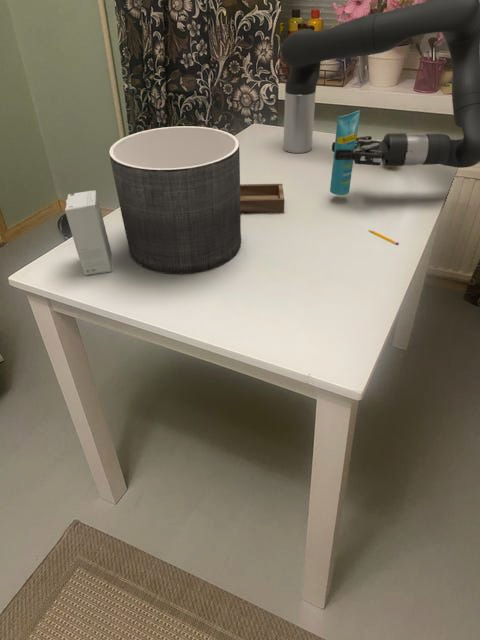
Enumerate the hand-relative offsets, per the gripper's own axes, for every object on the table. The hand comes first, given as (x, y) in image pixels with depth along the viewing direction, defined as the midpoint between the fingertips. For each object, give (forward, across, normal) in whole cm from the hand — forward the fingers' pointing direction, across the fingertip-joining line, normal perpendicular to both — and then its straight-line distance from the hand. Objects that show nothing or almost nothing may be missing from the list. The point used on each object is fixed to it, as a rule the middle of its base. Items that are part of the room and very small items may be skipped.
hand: (334, 150), depth 115 cm
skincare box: (+53, +30, +13) cm, 62 cm away
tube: (-3, 0, +11) cm, 11 cm away
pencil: (-9, +20, +13) cm, 26 cm away
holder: (+18, +2, +13) cm, 22 cm away
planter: (+35, +22, +13) cm, 43 cm away
